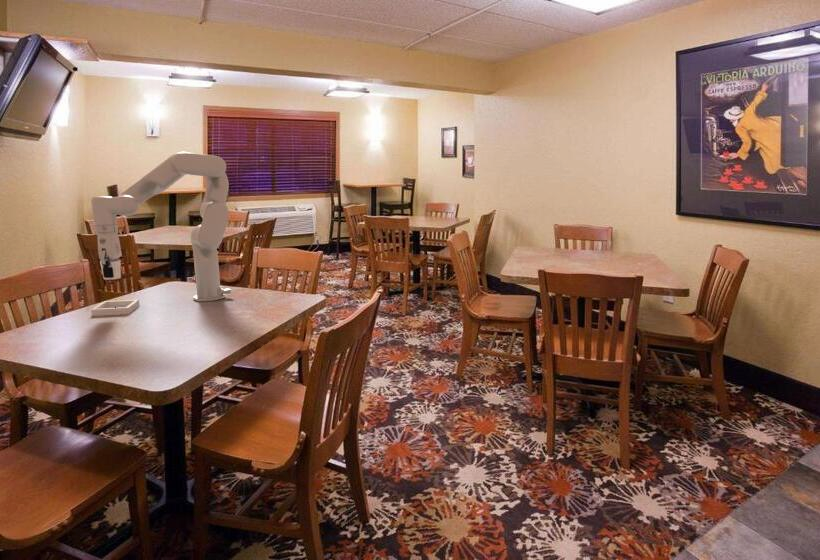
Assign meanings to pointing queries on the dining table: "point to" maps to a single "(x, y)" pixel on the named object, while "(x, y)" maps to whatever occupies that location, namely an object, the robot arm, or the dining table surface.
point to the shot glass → (114, 269)
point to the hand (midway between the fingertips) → (112, 275)
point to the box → (110, 309)
